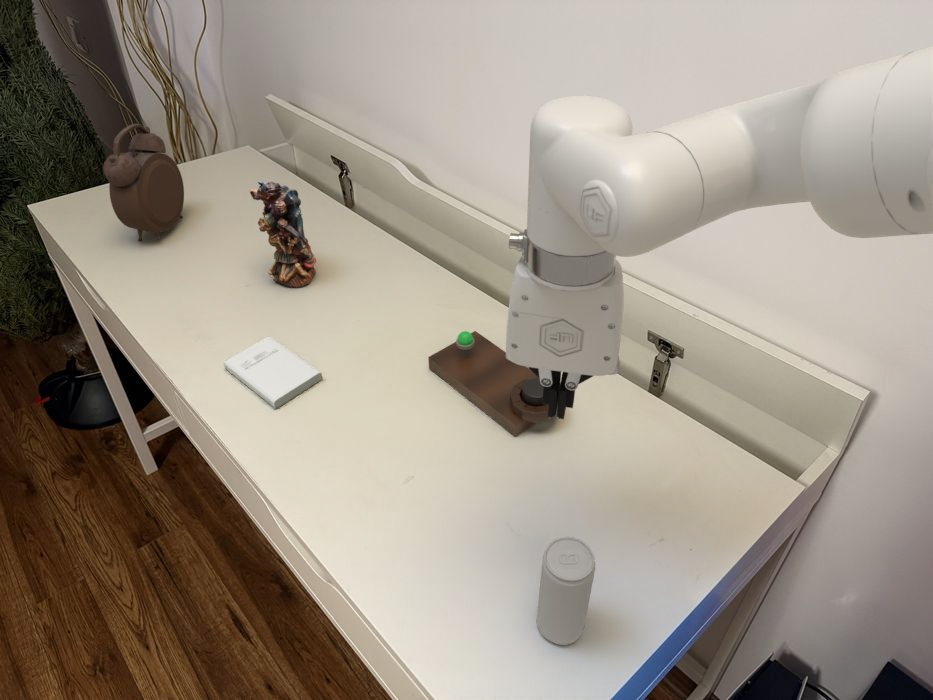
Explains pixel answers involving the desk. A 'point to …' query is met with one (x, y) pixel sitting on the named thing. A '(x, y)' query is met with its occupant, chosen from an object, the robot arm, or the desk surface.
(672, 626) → the desk surface
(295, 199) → the figurine
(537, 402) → the button
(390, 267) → the desk surface
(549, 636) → the beverage can
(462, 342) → the green lamp
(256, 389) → the hard drive
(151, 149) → the alarm clock
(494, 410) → the switch box
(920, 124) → the robot arm
